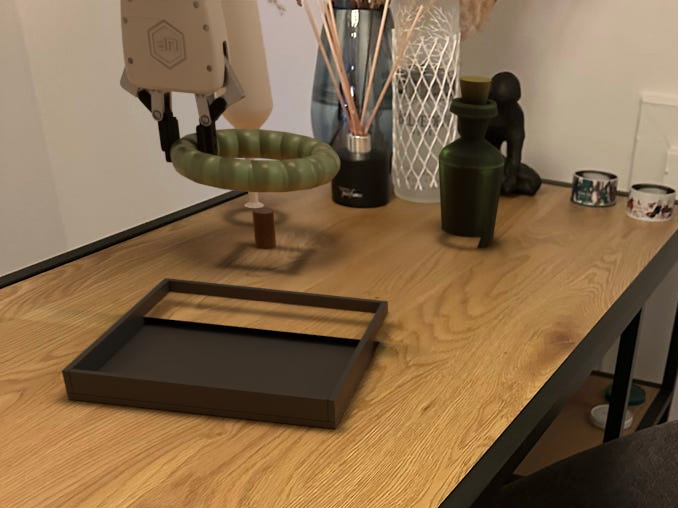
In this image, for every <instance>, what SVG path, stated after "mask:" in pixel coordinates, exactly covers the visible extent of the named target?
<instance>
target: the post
mask: <svg viewBox="0 0 678 508" xmlns="http://www.w3.org/2000/svg"><path fill="white" fill-rule="evenodd" d="M251 213H252V226H253V235H254V236H253V237H254V246H255V248H257V249H260V250H271V249H274V248H276V247H277V236H276V235H277V234H276V222H275V221H276V220H275V210H274V209H272V208H269V207H260V208H252V211H251Z"/></svg>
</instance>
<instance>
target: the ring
mask: <svg viewBox="0 0 678 508" xmlns="http://www.w3.org/2000/svg"><path fill="white" fill-rule="evenodd" d="M216 135H217V145H218V155H217V156H216V155H211V154H207V153H203V152H200V151H198V144H197V135H196V132H193V133H188V134H185V135H184V136H181V137H180V139H179V140H177V141H175V142H174V143H173V145H172V146H171V149H170V157H171V160H172V166H173V168H174V170H175V171H176V173H178V174H179V175H180V176H181V177H183V178H185V179H188V180H190V181H192V182H194V183H195V184H198V185H203V186H208V187H212V188H214V189H215V188H216V189H220V190H226V191H236V192H245V193H248V192H258V193H289V192H290V193H291V192H299V191H308V190H312V189H315V188H318V187H322V186H324V185H327V184H330V183H331V182H332V181H333V180H334V178H335V177H336V176H337V175H338V173H339V172H340V171H341V170H340V169H341V160H340V157H339V155H338V153H337V152H336V151H335V150H334V149H333V148H332V146H331V145H330V144H329V143H327V142H324V141H322V140H319V139H317V138H314V137H311V136H307V135H303V134H298V133H292V132H289V131H280V130H273V129H272V130H271V129H263V128H262V129H261V128H260V129H235V128H220V129H216ZM245 158H255V160H245ZM258 159H259V160H258Z"/></svg>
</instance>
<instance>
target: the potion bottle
mask: <svg viewBox="0 0 678 508" xmlns="http://www.w3.org/2000/svg"><path fill="white" fill-rule="evenodd" d="M458 79H459V87H460V95H461V96H460V97H455V98H452V100H451V103H450V106H449V108H448V109H449V110H448V111H449V113H451V114H453V115H455V116H456V117H457V122H458V127H459V128H458V129H459V134H460V137H459V138H456V139H454V140H453V141H452V142H450V143H448V144H446V145H445V146H443V147H442V149H441V150H440V152H439V154H438V159H437V160H438V181H439V182H438V183H439V198H440V199H439V200H440V222H441V223H440V224H441V231H443V232H445V233H447V234H448V235H452V236H457V237H462V238H479V241H478V244H477V246H476V248H477V249H481V248H485V247H488V246H489V245H490V244H491V243H493V241H494V235H495V229H496V228H495V227H496V222H497V214H498V210H499V209H498V208H499V202H500V195H501V188H502V181H503V175H504V168H505V159H504V156H503V154H502V151H501V150H500V149H498V148H497V147H496V146H495V145H493V143H491V142H489V141H488V140H487V139H486V138H485V137H486V134H487V130H488V127H489V123H490V119H492V118H494V117H496V116H499V111H498V105H497V102H496V100H493V99H489V95H490V90H491V87H492V86H491V85H492V82H493V79H492V78H490V77H486V76H480V75H461V76H459V77H458Z"/></svg>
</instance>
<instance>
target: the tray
mask: <svg viewBox="0 0 678 508" xmlns="http://www.w3.org/2000/svg"><path fill="white" fill-rule="evenodd" d="M169 293H179V294H187V295H199V296H208V297H209V296H210V297H218V298H227V299H237V300H246V301H254V302H255V301H256V302H264V303H265V302H266V303H275V304H284V305H293V306H294V305H295V306H304V307H312V308H321V309H322V308H323V309H331V310H333V309H334V310H341V311H342V310H343V311H349V312H350V311H352V312H361V313H369V314H370V313H371V314H374V315H373V317H372V318H371V320H370V322H369V324H368V325H367V328H366V329H365V331H364V333H363V335H362V336H361V339H360V338H359V339H358V338H349V337H339V336H331V335H321V334H311V333H304V332H303V333H302V332H292V331H284V330H273V329H266V328H264V329H263V328H255V327H247V326H237V325H226V324H218V323H209V322H208V323H207V322H198V321H191V320H190V321H189V320H181V319H170V318H162V317H161V318H160V317H153V316H151V317H150V316H146V315H147V314H148V313H150V311H151V310H152V309H153V308H154V307H155V306H157V305H158V304H159V303H160V302H161V301H162V300H163V299H164V298H165V297H166V296H168V295H169ZM388 313H389V301H388V300H379V299H370V298H360V297H351V296H342V295H341V296H340V295H333V294H322V293H313V292H302V291H293V290H284V289H275V288H265V287H256V286H245V285H236V284H226V283H217V282H207V281H198V280H188V279H179V278H168V277H164V278H163V279H162V280H161V281H160V282H158V283H157V285H155V286H154V287H153V288H152V289H151V290H150V291H149V292H148V293H147V294H145V295H144V296H143V297H142V298H141V299H140V300H139V301H138V302H136V304H134V305H133V306H131V308H130V309H129V310H128V311H126V312H125V313H123V315H122V316H121V317H120V318H119V319H117V321H115V322H114V323H113V324H112V325H111V326H110V327H109V328H107V329H106V330H105V331H104V332H103V333H102V334H101V335H99V337H98V338H96V339H95V340H94V341H93V342H92V343H91V344H89V345H88V346H87V347H86V348H85V349H84V350H83V351H82V352H80V353H79V355H77V356H76V357H75V358H74V359H73V360H72V361H71V362H70V363H69V364H67V365H66V366H65V367H64V368H63V369H62V370H61V373H62V378H63V383H64V386H65V387H64V388H65V391H66V395H67V399H68V400H72V401H82V402H91V403H101V404H109V405H115V406H116V405H117V406H127V407H136V408H145V409H153V410H161V411H162V410H163V411H170V412H181V413H190V414H197V415H206V416H207V415H208V416H214V417H215V416H216V417H217V416H218V417H225V418H235V419H243V420H251V421H263V422H272V423H279V424H288V425H297V426H305V427H306V426H308V427H316V428H324V429H335V430H336V429H337V427H338V425H339V423H340V422H341V419H342V417H343V415H344V413H345V411H346V409H347V408H348V405H349V403H350V401H351V399H352V397H353V396H354V393H355V391H356V390H357V387H358V386H359V384H360V381H361V380H362V378H363V376H364V374H365V372H366V370H367V368H368V366H369V364H370V362H371V360H372V358H373V356H374V354H375V352H376V350H377V349H378V346H379V344H380V341H378V340H375V338H376V336H377V335H378V333H379V330H380V329H381V327H382V324H383V323H384V321H385V319H386V318H387V315H388Z"/></svg>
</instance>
